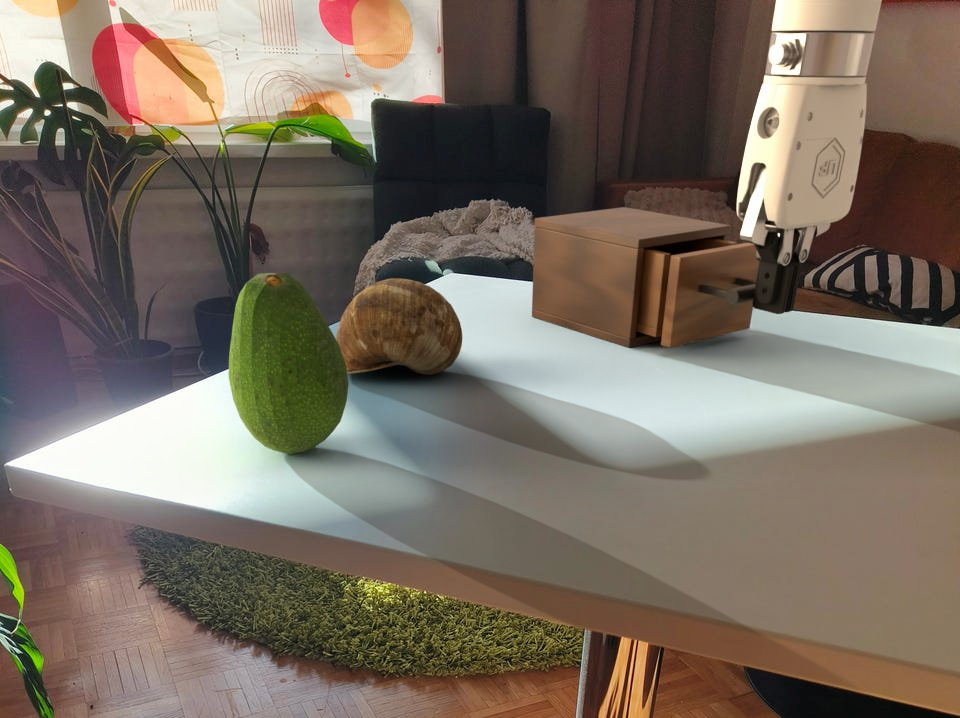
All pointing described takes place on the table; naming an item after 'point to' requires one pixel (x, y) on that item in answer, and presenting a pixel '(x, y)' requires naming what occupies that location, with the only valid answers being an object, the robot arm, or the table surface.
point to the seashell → (399, 328)
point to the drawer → (696, 290)
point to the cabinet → (603, 267)
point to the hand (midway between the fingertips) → (772, 309)
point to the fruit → (285, 365)
